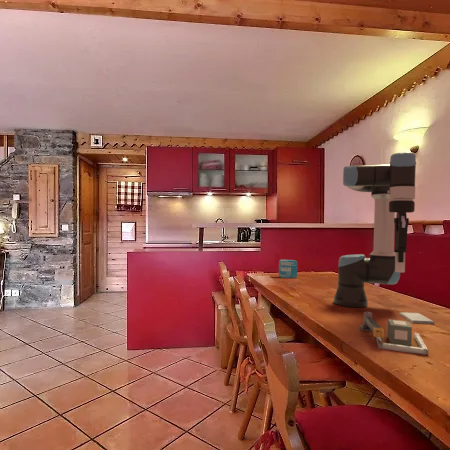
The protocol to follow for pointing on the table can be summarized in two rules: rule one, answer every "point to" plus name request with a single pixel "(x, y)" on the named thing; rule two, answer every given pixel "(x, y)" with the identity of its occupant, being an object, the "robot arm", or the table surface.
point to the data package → (288, 268)
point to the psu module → (399, 332)
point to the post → (365, 326)
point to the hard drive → (416, 318)
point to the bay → (403, 348)
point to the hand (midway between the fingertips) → (399, 271)
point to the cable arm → (375, 327)
